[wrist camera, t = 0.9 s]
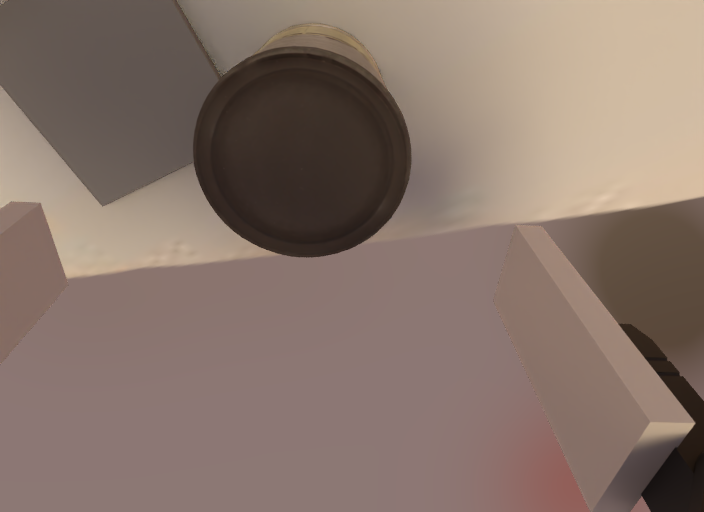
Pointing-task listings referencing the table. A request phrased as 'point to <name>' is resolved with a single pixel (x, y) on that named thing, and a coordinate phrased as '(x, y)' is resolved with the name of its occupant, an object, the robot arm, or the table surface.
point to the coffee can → (303, 145)
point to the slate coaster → (107, 85)
